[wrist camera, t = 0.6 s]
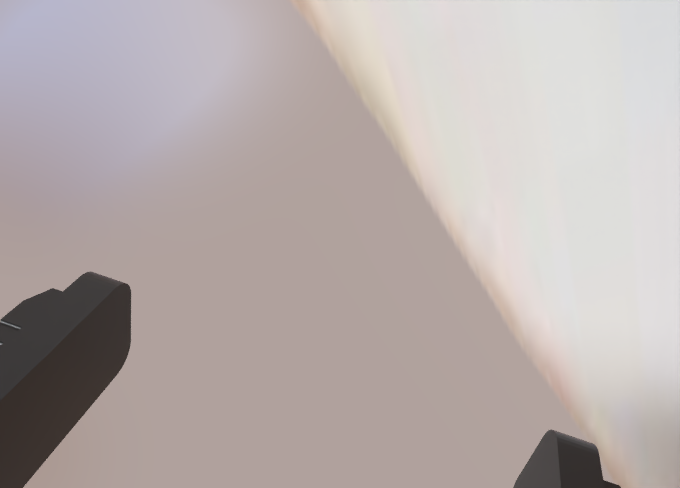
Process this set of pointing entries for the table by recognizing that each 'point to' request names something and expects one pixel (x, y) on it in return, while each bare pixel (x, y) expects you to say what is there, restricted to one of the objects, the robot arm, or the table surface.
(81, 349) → the robot arm
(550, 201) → the table surface
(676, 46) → the table surface
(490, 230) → the table surface
